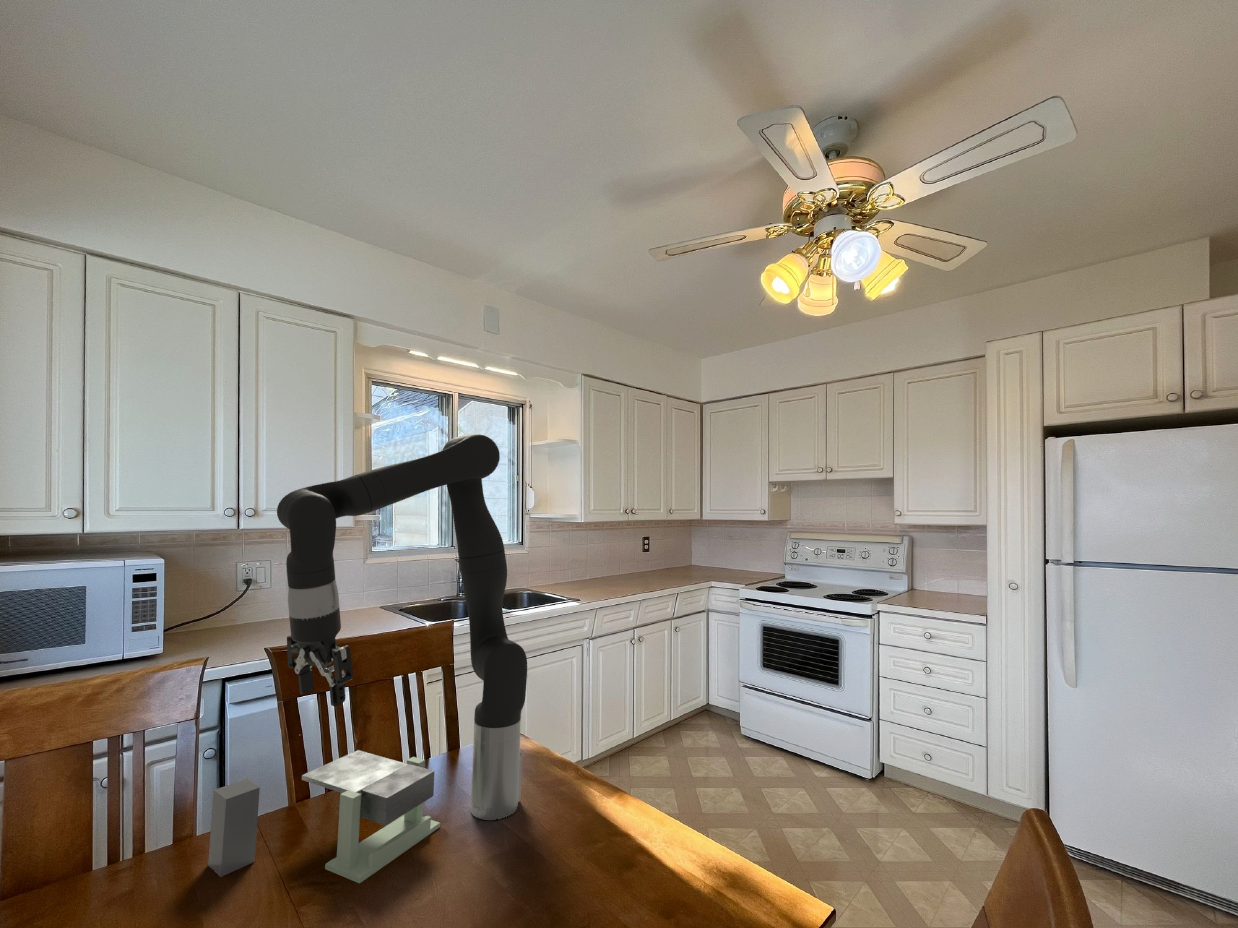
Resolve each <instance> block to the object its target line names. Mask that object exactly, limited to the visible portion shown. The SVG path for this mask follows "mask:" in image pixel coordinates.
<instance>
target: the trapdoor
mask: <svg viewBox="0 0 1238 928" xmlns="http://www.w3.org/2000/svg"><path fill="white" fill-rule="evenodd" d="M301 781H305V782H308V783H310V784H313V785H315V786H320V787H322V788H325V789H328V790H331V791H335V792H337V793H340V794H342V793H344V792H346V791H348V790H350V791H353V792H356V793H359V794H361V804H360V819H364V820H367V821H370V822H373V823H376V824H379V825H381V826H384V827H385V826H387V825H389V824H390V823H392V822H393V821H395V820H397V819H398V818H400V817H401V816H403V815H404V814H405V813H407V812H409V811H410V810H412V809H413V808H415V807H417V806H418V805H420V804H422V803H423V804H424V803H425V802H426V801H428V800H429V799H431V798H432V797H434V791H435V789H434V788H435V770H433V769H429V768H426V767H425V768H422V767H419V766H415V765H413V764H412V763H410V764H407V762H406V763H404V762H402V761H399V760H395V759H391V758H387V757H384V756H380V755H377V754H374V753H371V752H370V753H369V752H366V751H363V750H360V749H357V750H356V751H354V752H350V753H349V754H345V755H344V756H342V757H340V758H337V759H334V760H332V761H331V762H328V763H326V764H324V765H322V766H319V767H317V768H315V769H312V770H311V771H308V772H306V773H304V774H302V775H301Z"/></svg>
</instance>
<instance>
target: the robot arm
mask: <svg viewBox="0 0 1238 928" xmlns="http://www.w3.org/2000/svg"><path fill="white" fill-rule="evenodd" d="M500 458H501V456H500V450H499V447H498V444H497V443H496V442H495V441H494V440H493V439H492V438H490V437H489V436H487V435H485V434H480V433H470V434H465V435H462V436H456V437H454V438H451V439H450V440H448V441H447V442H446V443H445V444H444V446H443V448H442V450H440V451H438V452H434V453H432V454H428V455H426V456H422V457H418V458H414V459H411V460H406V461H402V462H398V463H393V464H389V465H386V466H385V465H384V466H381V467H377V468H374V469H370V470H367V471H364V472H361V473H358V474H354V475H351V476H349V477H347V478H343V479H340V480H336V481H335V480H334V481H330V482H329V481H328V482H324V483H319V484H318V483H317V484H315V485H314V484H313V485H310V486H305V487H301V488H299V489H295V490H293V491H291V492H289V493H287V494H286V495H284V497H282V498H281V500H280V501H279V503H278V505H277V507H276V516H277V518H278V519H277V520H278V521H279V522H280V524H281V525H283V526H284V527H285V528H287V529H288V531H289V536H290V537H289V538H290V539H289V540H290V552H289V553H288V554H287V556H286V560H285V562H286V563H285V565H286V566H285V567H286V576H287V577H286V578H287V588H288V589H287V590H288V592H287V608H288V618H289V629H290V635H288V636H286V650H287V651H286V652H287V666H288V668H289V669H294V672H295V675H296V674H297V677H298V688H299V689H298V690H299V693H300V694H301V695H303V696H304V695H307V694H309V693H310V692H312V691H314V689H315V682H314V671H313V669H312V668H313V667H315V668H316V669H318V671H319V674H320V675H321V676H322V677H325V678H326V680H327V682H328V684H329V697H330V698H329V699H330V705H331V706H333V707H334V708H335V707H338V706H340V705H342V704H343V703H344V702H345V701H346V688H345V687H346V686H345V684H346V683H348V682H349V681H351V680H354V672H353V671H354V670H353V663H352V655H351V654H352V653H351V648H350V645H348V644H346V645H344V646H341V647H340V646H338V643H337V640H336V637H337V635H338V634H339V633H340V631H341V629H342V622H341V621H342V619H341V610H340V609H341V608H340V598H339V590H338V585H337V579H336V571H335V570H336V569H335V559H334V548H335V544H336V542H335V541H336V534H337V519H339V518H343V517H357V516H358V517H359V516H362V515H367V514H368V513H369V514H370V513H372V512H374V511H377V510H380V509H383V508H386V507H388V506H391V505H394V504H396V503H398V502H402V501H403V500H407V499H410V498H411V497H414V496H417V495H419V494H422V493H425V492H427V491H430V490H433V489H436V488H440V487H443V486H446V489H447V493H448V496H449V501H450V504H451V509H452V510H451V511H452V518H453V525H454V532H455V537H456V538H455V539H456V545H457V553H458V561H459V562H458V563H459V568H460V569H459V570H460V575H461V579H462V586H463V592H464V597H465V598H464V599H465V604H466V609H467V613H468V614H467V615H468V622H469V623H468V624H469V640H470V641H469V642H470V643H469V644H470V645H469V647H470V662H471V667H472V670H473V671H474V673H475V675H476V676H477V677H478V678H479V679H480V680H482V681H483V683H482V684H483V686H482V699H481V701H480V702H479V703H478V704H477V705H476V706H475V708H474V719H473V747H472V749H473V751H472V773H471V774H472V775H471V797H470V800H471V801H470V812H471V814H472V816H474V817H475V818H477V819H480V820H485V821H495V820H496V819H498V820H502V818H503V819H505V817H506V818H508V817H510V816H511V814H512V815H514V813H516V812H517V810H518V808H519V803H518V801H519V800H520V801H521V788H522V761H523V760H522V758H523V756H522V753H521V750H520V749H521V719H522V711H523V708H524V705H525V702H526V701H525V700H526V695H527V680H528V679H527V678H528V659H527V657H528V656H527V654H526V651H525V649H524V648H523V647H522V646H521V645H520V644H519V643H517V642H515V641H513V640H511V639H509V637H508V634H507V630H506V625H505V619H504V611H503V604H504V595H505V593H506V592H505V591H506V586H507V580H508V565H507V557H506V551H505V545H504V540H503V537H502V535H501V532H500V530H499V527H498V526H497V524H496V522H495V520H494V519H493V517H492V515H491V512H490V510H489V508H488V506H487V503H486V500H485V496H484V488H483V479H485V478H487V477H489V476H490V475H491V474H493V473H494V472H495V470H496V469H497V467H498V465H499V463H500ZM297 654H298V657H297V658H295V655H297ZM331 664H333V665H331ZM330 665H331V666H330ZM327 666H329V667H327ZM344 670H345V671H344ZM332 672H334V676H333V673H332ZM517 807H518V808H517ZM516 809H517V810H516ZM509 815H510V816H509ZM507 816H508V817H507ZM496 821H497V820H496Z"/></svg>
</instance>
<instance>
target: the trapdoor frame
mask: <svg viewBox="0 0 1238 928" xmlns="http://www.w3.org/2000/svg"><path fill="white" fill-rule="evenodd" d="M410 763H412V764H413V765H415V766H419V767H422V768H426V760H425V759H424V758H423V759H422V758H419V757H416V756H412V757H409V758H408V759H406V764H410ZM360 804H361V794H359V793H356V792H353V791H350V790H348V791H346V792H344V793H340V796H339V809H338V811H339V812H338V814H339V815H338V827H337V828H338V830H337V844H336V845H337V847H336V848H337V849H336V856H335V858H332V859H331V860H329V861H328V862H326V863H325V865H324V870H326V871H329V872H331V873H333V874H336V875H338V876H341V877H344V878H346V879H347V880H349V881H353V882H355V883H358V884H362V883H363V882H364V881H365V880H367V879H368V878H369V877H371V876H372V875H374V874H375V873H377V872H378V871H379V870H381V869H382V868H383V867H385V866H387V865H388V864H389V863H391V862H392V861H394V860H395V859H396V858H398V857H400V856H401V855H402V854H403V853H405V852H407V851H408V850H409V849H411V848H413V846H415V845H416V844H418V843H420V842H421V841H422V840H424V839H425V838H427V837H428V836H429V835H431V834H432V833H433V832H435V831H436V830H438V829H439V828H440V827H441V822H439V821H436V820H433V819H432V817H431V816H430V815H426V816H424V815H423V814H424V813H423V812H424V802H423V803H422V804H420V805H418V806H417V807H415V808H413V809H412V810H410V811H409V812H407V813H405V814H404V815H402V816H401V817H399V818H397V819H396V820H394V821H393V822H391V823H389V824H388V825H386V826H384V827H382V828H381V829H378V831H376V832H374V833H372V834H371V835H370V836H368V837H366V838H365V839H363V840H362V841H360V842H359V839H360V838H359V837H360V821H361V820H360V819H361V817H360Z"/></svg>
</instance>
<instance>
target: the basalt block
mask: <svg viewBox="0 0 1238 928" xmlns="http://www.w3.org/2000/svg"><path fill="white" fill-rule="evenodd" d="M260 789H261V787H260V786H258V785H257V784H256V783H254V782H253V781H251V780H250V779H248V778H244V779H243V780H240V781H239V780H238V781H236V782H233V783H230V784H227V785H225V786H222V787H219V788H215V789H214V790H213V794H212V806H211V807H212V808H211V820H210V822H211V823H210V836H209V846H208V848H209V849H208V859H207V860H208V861H207V862H208V863H207V864H208V867H209V868H210V869H211V870H212V871H213V870H214V871H213V872H214V873H215V874H217V876H219V877H220V878H221V877H225V876H226V875H228V874H230V873H233V872H236V871H237V870H239V869H242V868H244V867H246V866H248V865H250V864H253V863H255V862H256V848H257V847H256V846H257V835H258V834H257V833H258V819H259V818H258V817H259V803H260Z"/></svg>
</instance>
